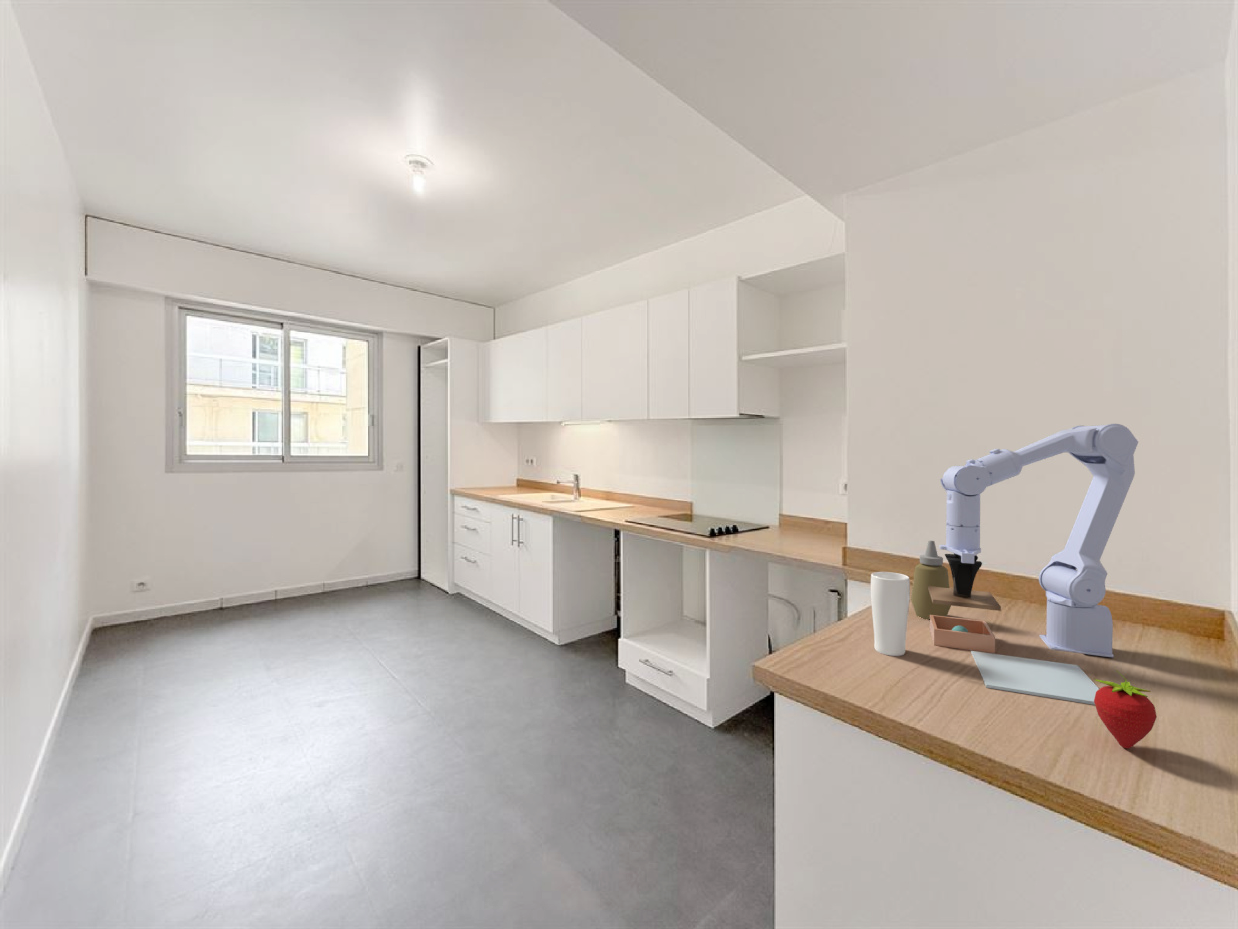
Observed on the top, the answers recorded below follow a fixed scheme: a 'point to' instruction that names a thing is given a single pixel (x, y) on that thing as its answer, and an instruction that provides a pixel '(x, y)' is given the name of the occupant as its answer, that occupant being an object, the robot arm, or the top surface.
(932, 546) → the squeeze bottle
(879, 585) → the white cup
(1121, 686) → the strawberry
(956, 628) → the ball
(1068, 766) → the top surface
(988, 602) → the lid
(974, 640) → the shallow cardboard tray
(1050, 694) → the mat
